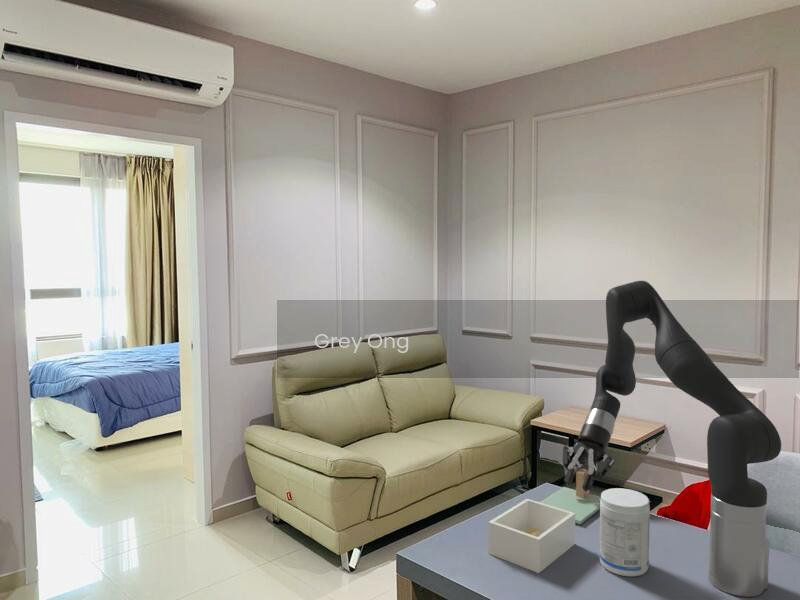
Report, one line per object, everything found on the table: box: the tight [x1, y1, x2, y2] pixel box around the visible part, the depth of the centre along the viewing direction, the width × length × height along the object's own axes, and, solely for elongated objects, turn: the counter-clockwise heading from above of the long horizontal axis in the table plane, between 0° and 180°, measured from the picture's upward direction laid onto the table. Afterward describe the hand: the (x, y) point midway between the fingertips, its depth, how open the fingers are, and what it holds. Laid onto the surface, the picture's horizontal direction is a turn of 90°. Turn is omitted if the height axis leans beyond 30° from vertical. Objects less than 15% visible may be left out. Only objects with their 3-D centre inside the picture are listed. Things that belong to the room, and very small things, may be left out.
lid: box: [539, 467, 601, 525], centre depth 150 cm, size 16×12×8 cm
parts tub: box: [488, 498, 576, 574], centre depth 129 cm, size 16×12×7 cm
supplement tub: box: [599, 487, 651, 577], centre depth 121 cm, size 10×10×15 cm
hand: (576, 487), depth 151 cm, fingers open, 4 cm apart
